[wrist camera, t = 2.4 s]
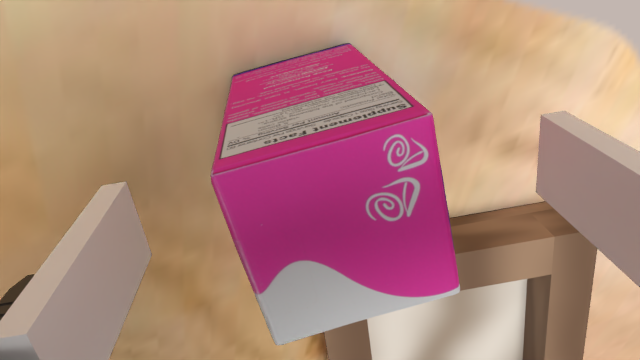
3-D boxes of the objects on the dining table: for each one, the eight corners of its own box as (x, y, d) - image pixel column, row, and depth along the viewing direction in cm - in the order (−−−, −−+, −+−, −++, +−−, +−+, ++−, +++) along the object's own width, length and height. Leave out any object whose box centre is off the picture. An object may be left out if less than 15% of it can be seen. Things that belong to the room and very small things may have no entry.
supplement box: (380, 153, 24) (465, 302, 14) (265, 184, 24) (264, 355, 14) (355, 37, 21) (438, 112, 11) (228, 72, 22) (192, 178, 11)
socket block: (340, 420, 32) (347, 467, 29) (309, 242, 26) (314, 279, 23) (546, 382, 32) (574, 424, 29) (563, 198, 26) (599, 228, 23)
